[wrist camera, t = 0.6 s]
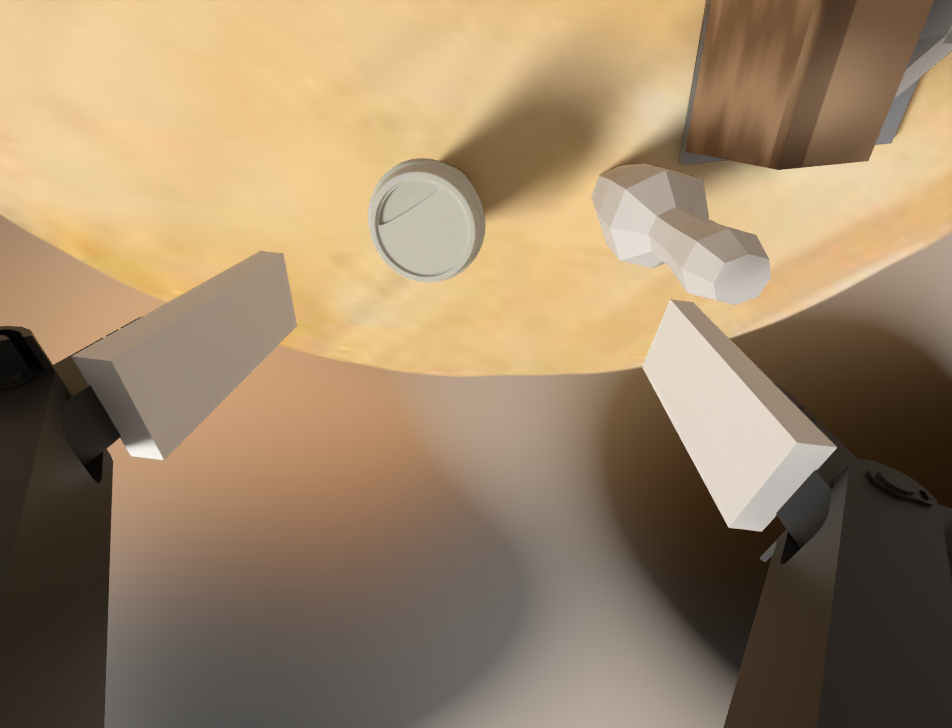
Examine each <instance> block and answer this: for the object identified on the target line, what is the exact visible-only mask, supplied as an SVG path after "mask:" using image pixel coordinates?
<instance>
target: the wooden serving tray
mask: <svg viewBox="0 0 952 728" xmlns="http://www.w3.org/2000/svg"><path fill="white" fill-rule="evenodd" d="M933 2H934V0H711V1H710V3H709V1H708V0H706V4H705V10H704V14H707V13H708V14H709V15H708V17H709V19H707V18H706V20H707V21H708V23H707V27H706V28H705V29H706V36H705V40H704V38H703V37H701V34H702V33H700V39H701V38H703V39H702V40H704V41H705V42H704V44H703V45H702V46H704V47H703V48H702V49H703V53H702V52H701V51H697V56H698V52H701V53H702V58H701V62H699V63H701V65H700V70H699V76H698V80H697V81H698V82H697V83H696V84H697V88H696V89H695V87H694V89H695V90H696V93H695V99H694V105H693V111H692V116H691V122H690V128H689V133H688V139H687V144H686V152H691V153H696V154H701V155H706V156H711V157H716V158H721V159H726V160H731V161H736V162H741V163H746V164H751V165H756V166H761V167H767V168H772V169H777V170H782V169H792V168H802V167H812V166H822V165H832V164H842V163H852V162H862V161H868V160H869V158H870V155H871V153H872V151H873V148H874V146H875V143H876V141H877V138H878V136H879V134H880V131H881V129H882V126H883V124H884V121H885V119H886V117H887V114H888V112H889V109H890V107H891V104H892V102H893V99H894V97H895V95H896V92H897V90H898V87H899V85H900V82H901V80H902V78H903V75H904V73H905V70H906V68H907V65H908V63H909V61H910V58H911V56H912V53H913V51H914V48H915V46H916V43H917V41H918V39H919V36H920V34H921V31H922V29H923V26H924V24H925V22H926V19H927V17H928V14H929V12H930V9H931V7H932V5H933ZM707 3H709V4H707ZM710 4H711V5H710ZM706 5H708V7H709V6H710V8H708V9H707V8H706V7H707V6H706ZM706 10H710V13H709V11H708V12H707V13H705V12H706ZM705 16H706V15H704V16H703V22H702V27H703V28H704V26H703V25H704V23H706V22H704V21H705V19H704V18H705ZM703 28H701V31H702V30H703ZM702 32H704V31H702ZM704 35H705V33H704ZM704 35H703V36H704ZM700 39H699V45H698V49H699V46H700ZM701 53H700V54H701ZM699 56H700V55H699ZM696 59H697V58H696ZM696 65H697V63H696ZM696 65H695V66H696ZM697 66H698V65H697ZM698 67H699V66H698ZM696 73H697V72H696ZM694 75H695V71H694ZM694 75H693V78H694ZM697 75H698V73H697ZM696 77H697V76H696ZM692 82H693V81H692ZM692 85H693V83H692Z"/></svg>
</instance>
